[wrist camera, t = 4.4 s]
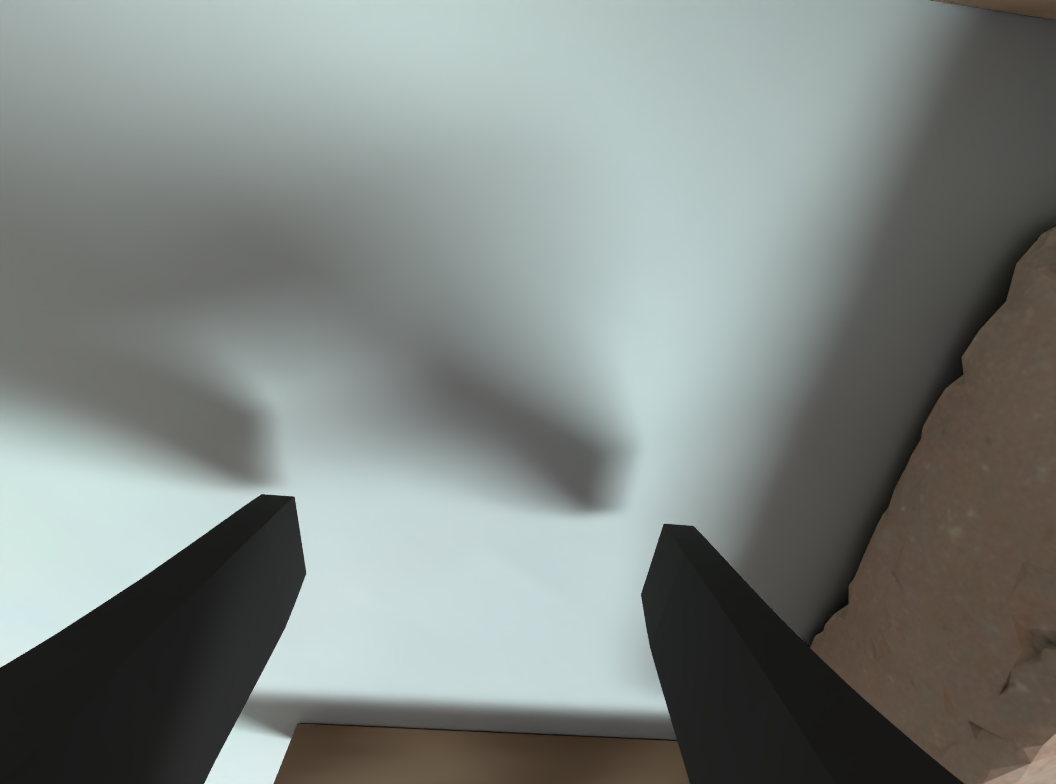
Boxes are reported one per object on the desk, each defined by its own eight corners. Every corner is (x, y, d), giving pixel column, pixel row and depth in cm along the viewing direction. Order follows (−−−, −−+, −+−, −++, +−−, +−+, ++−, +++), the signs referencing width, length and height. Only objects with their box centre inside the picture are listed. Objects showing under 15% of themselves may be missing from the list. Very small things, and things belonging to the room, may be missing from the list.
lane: (1571, -15, 6) (2307, -136, 4) (879, 769, 16) (950, 889, 14) (90, -272, 5) (-360, -724, 3) (301, 744, 15) (253, 871, 12)
